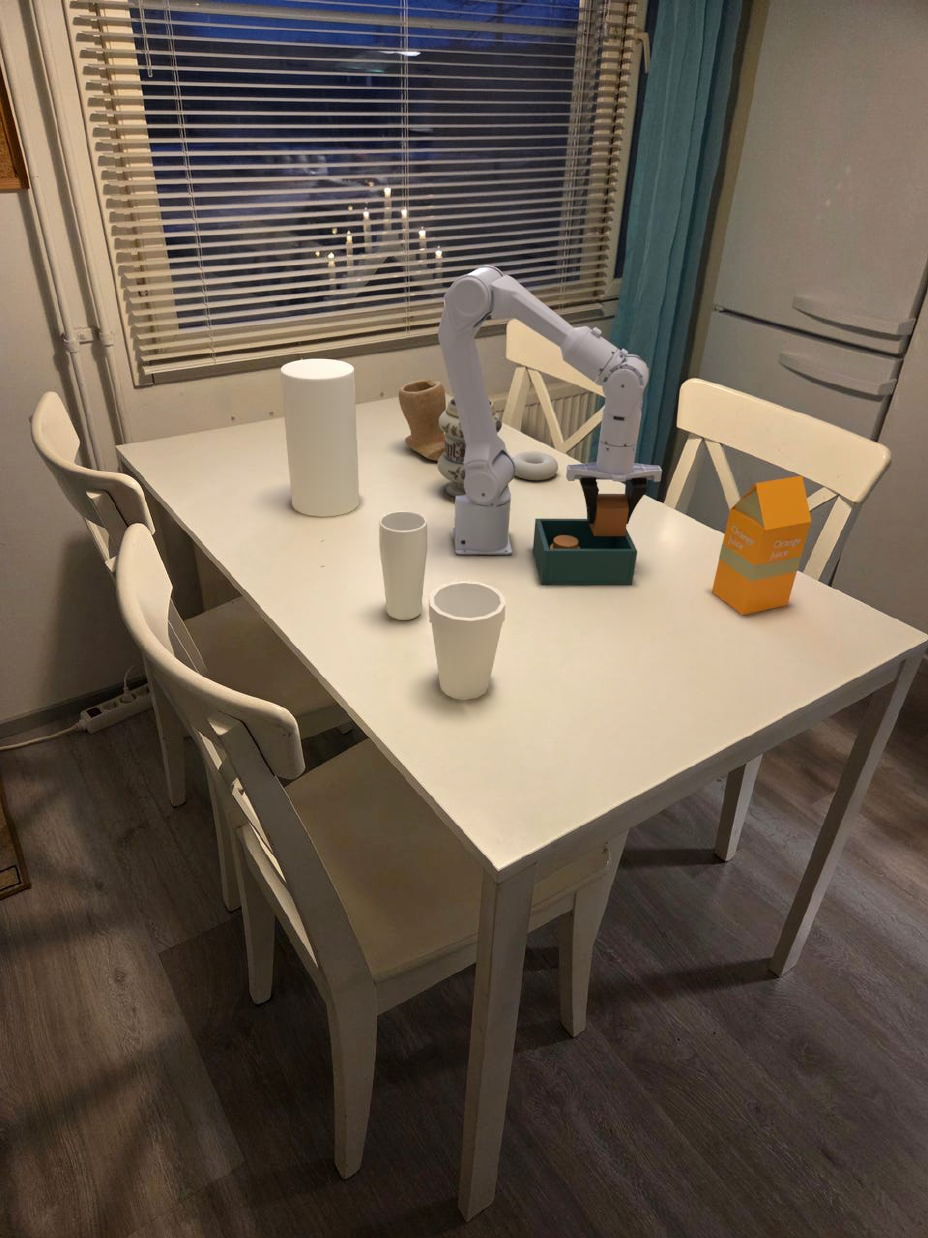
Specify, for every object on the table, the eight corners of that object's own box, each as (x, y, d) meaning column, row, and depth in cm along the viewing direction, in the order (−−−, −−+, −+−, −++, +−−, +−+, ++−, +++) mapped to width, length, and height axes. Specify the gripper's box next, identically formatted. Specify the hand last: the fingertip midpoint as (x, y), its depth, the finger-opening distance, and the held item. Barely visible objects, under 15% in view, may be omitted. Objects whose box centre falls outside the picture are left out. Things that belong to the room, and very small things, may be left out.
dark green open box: (541, 584, 131) (544, 550, 128) (532, 550, 141) (535, 518, 137) (632, 584, 132) (637, 551, 128) (617, 551, 142) (621, 518, 138)
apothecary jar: (486, 477, 167) (491, 389, 157) (508, 501, 157) (513, 409, 148) (429, 483, 164) (430, 393, 154) (447, 508, 154) (449, 414, 144)
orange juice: (710, 591, 131) (737, 473, 120) (755, 581, 134) (784, 465, 123) (743, 616, 125) (774, 493, 114) (788, 605, 128) (822, 485, 117)
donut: (505, 480, 166) (554, 485, 165) (506, 464, 165) (556, 468, 163) (512, 462, 175) (560, 466, 173) (513, 447, 173) (561, 451, 171)
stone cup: (390, 444, 181) (389, 376, 173) (439, 437, 186) (440, 370, 178) (419, 469, 170) (419, 397, 162) (470, 460, 174) (473, 390, 166)
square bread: (593, 536, 131) (598, 501, 128) (588, 522, 135) (592, 488, 132) (625, 536, 131) (630, 501, 128) (618, 522, 135) (623, 488, 132)
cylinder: (279, 508, 152) (265, 372, 138) (314, 484, 161) (305, 354, 148) (338, 521, 148) (331, 382, 134) (371, 496, 158) (366, 364, 144)
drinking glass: (392, 628, 119) (390, 535, 111) (374, 606, 124) (371, 515, 116) (434, 618, 122) (435, 526, 113) (415, 596, 127) (415, 507, 118)
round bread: (550, 573, 133) (552, 547, 131) (546, 558, 137) (548, 533, 135) (581, 573, 133) (584, 547, 131) (575, 558, 138) (578, 533, 135)
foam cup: (426, 664, 112) (427, 581, 105) (494, 663, 112) (499, 580, 105) (430, 708, 104) (431, 621, 97) (503, 706, 104) (509, 620, 97)
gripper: (575, 449, 121) (566, 532, 129) (672, 450, 122) (657, 532, 130) (567, 432, 127) (559, 512, 135) (660, 433, 128) (647, 513, 135)
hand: (607, 521), depth 132 cm, fingers closed on square bread, 5 cm apart
